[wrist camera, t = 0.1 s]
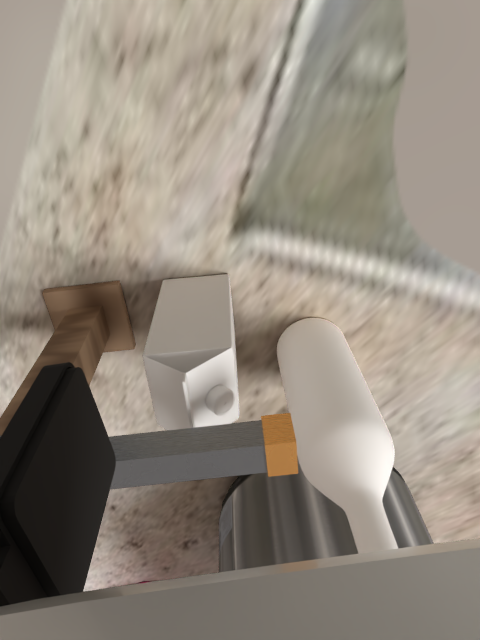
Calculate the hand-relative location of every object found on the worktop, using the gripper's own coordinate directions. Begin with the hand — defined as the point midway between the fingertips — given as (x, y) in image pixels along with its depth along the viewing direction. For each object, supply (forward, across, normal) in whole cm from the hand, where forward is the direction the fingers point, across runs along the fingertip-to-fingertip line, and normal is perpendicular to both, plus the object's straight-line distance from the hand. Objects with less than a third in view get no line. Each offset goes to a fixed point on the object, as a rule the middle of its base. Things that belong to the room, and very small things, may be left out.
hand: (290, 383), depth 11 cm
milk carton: (+37, +6, +16) cm, 41 cm away
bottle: (+37, -5, +23) cm, 44 cm away
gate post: (+37, +18, +15) cm, 44 cm away
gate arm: (+16, +10, +15) cm, 24 cm away
